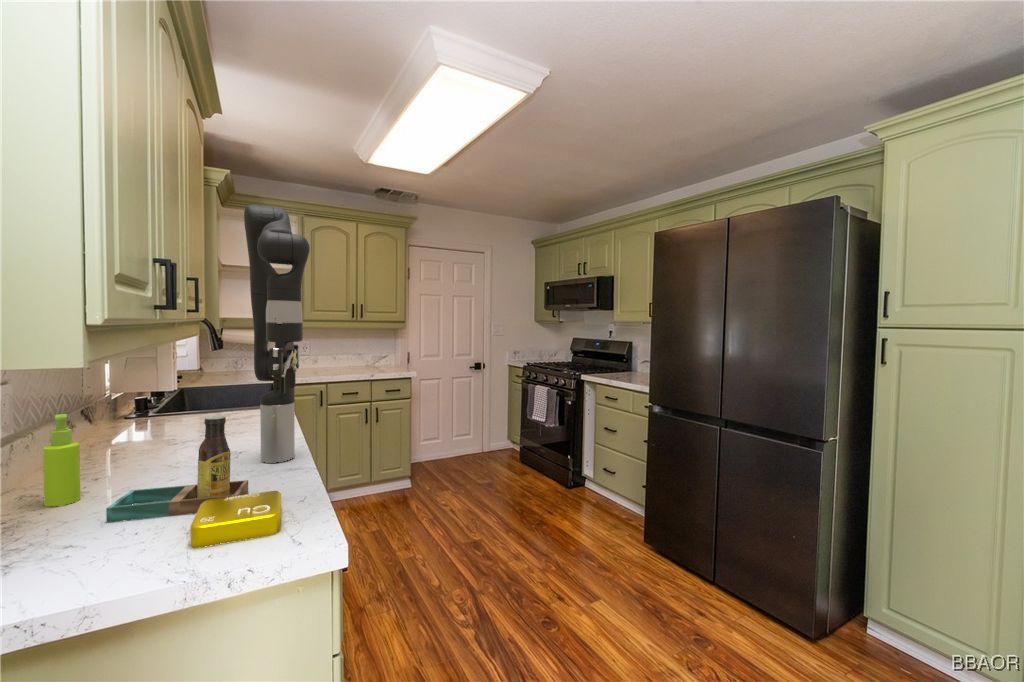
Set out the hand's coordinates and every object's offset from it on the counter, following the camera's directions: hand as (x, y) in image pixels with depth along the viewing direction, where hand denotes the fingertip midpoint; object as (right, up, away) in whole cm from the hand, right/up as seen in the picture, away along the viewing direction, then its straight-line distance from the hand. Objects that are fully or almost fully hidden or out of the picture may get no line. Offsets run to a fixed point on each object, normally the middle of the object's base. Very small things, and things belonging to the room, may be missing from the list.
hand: (285, 390), depth 103 cm
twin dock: (-22, -26, -2) cm, 34 cm away
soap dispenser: (-51, -26, -1) cm, 57 cm away
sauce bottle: (-16, -26, 0) cm, 31 cm away
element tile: (-3, -27, -11) cm, 30 cm away
